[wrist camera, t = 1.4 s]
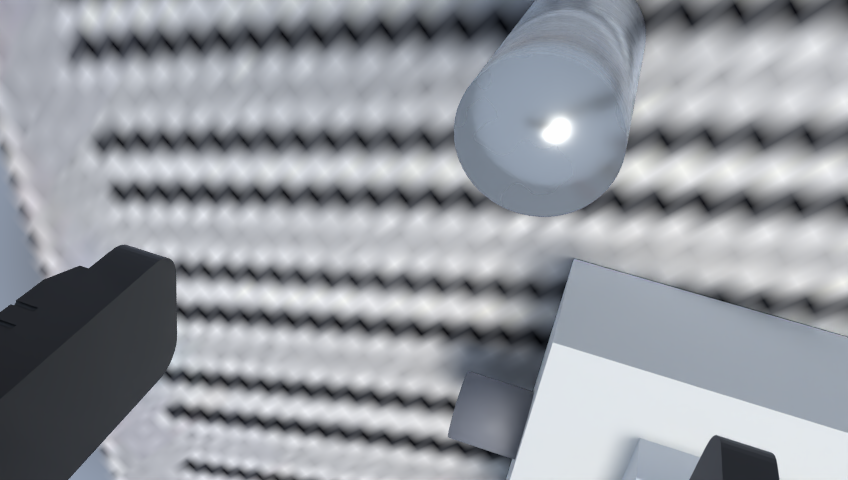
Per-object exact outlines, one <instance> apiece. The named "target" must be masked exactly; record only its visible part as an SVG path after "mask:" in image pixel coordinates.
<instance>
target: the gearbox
mask: <svg viewBox="0 0 848 480" xmlns="http://www.w3.org/2000/svg"><path fill="white" fill-rule="evenodd" d="M714 435H718V436H721V437H725V438H728V439H731V440H734V441H737V442H740V443H743V444H746V445H750V446H753V447H756V448H759V449H762V450H765V451H768V452H771V453H773V454H774V455H775V457H776V460H777V465H778V473H779V480H848V337H845V336H842V335H838V334H835V333H831V332H828V331H824V330H821V329H817V328H814V327H810V326H807V325H803V324H800V323H796V322H793V321H789V320H786V319H783V318H779V317H776V316H772V315H769V314H765V313H762V312H758V311H755V310H751V309H748V308H744V307H741V306H737V305H734V304H730V303H727V302H723V301H720V300H716V299H713V298H709V297H706V296H702V295H699V294H695V293H692V292H688V291H685V290H682V289H678V288H675V287H671V286H668V285H664V284H661V283H657V282H654V281H650V280H647V279H643V278H640V277H636V276H633V275H629V274H626V273H622V272H619V271H615V270H612V269H608V268H605V267H601V266H598V265H594V264H591V263H587V262H584V261H581V260H577V259H574V260H573V263H572V267H571V270H570V273H569V276H568V280H567V283H566V286H565V289H564V293H563V296H562V299H561V302H560V306H559V309H558V312H557V315H556V319H555V322H554V325H553V328H552V331H551V335H550V338H549V341H548V344H547V348H546V351H545V354H544V357H543V361H542V364H541V367H540V370H539V374H538V377H537V380H536V383H535V387H534V390H533V391H529V390H526V389H523V388H520V387H517V386H514V385H511V384H508V383H504V382H501V381H498V380H495V379H492V378H489V377H486V376H482V375H479V374H476V373H473V372H470V371H468V372H467V374H466V376H465V379H464V382H463V384H462V387H461V390H460V393H459V396H458V399H457V403H456V406H455V409H454V413H453V416H452V420H451V424H450V428H449V433H448V437H449V438H452V439H455V440H458V441H461V442H464V443H467V444H470V445H473V446H476V447H479V448H482V449H485V450H487V451H490V452H493V453H496V454H499V455H502V456H505V457H508V458H511V459H512V461H511V465H510V468H509V471H508V474H507V478H506V480H689V479H690V477H691V475H692V473H693V471H694V469H695V467H696V465H697V463H698V461H699V459H700V457H701V455H702V453H703V451H704V449H705V447H706V445H707V444H708V442H709V440H710V439H711V438H712V437H713V436H714Z"/></svg>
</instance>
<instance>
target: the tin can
mask: <svg viewBox="0 0 848 480" xmlns="http://www.w3.org/2000/svg"><path fill="white" fill-rule="evenodd" d="M645 43H646V26H645V20H644V17H643V14H642V11H641V9H640V7H639V5H638V4H637V2H636V1H635V0H535V1H534V3H533V4H532V5H531V6H530V8H529V9H528V10H527V12H526V13H525V14H524V16H523V17H522V18H521V19H520V21H519V22H518V23H517V25H516V26H515V27H514V29H513V30H512V31H511V33H510V34H509V35H508V36H507V38H506V39H505V40H504V42H503V43H502V44H501V46H500V47H499V48H498V49H497V51H496V52H495V53H494V55H493V56H492V57H491V59H490V60H489V61H488V63H487V64H486V65H485V66H484V68H483V69H482V70H481V72H480V73H479V74H478V76H477V77H476V78H475V79H474V81H473V82H472V83H471V85H470V86H469V87H468V89H467V90H466V92H465V94H464V95H463V97H462V99H461V101H460V104H459V106H458V109H457V113H456V117H455V124H454V141H455V147H456V151H457V155H458V158H459V161H460V163H461V165H462V168H463V169H464V171H465V173H466V175H467V176H468V178H469V179H470V180H471V182H472V183H473V184H474V185H475V186H476V188H477V189H478V190H479V191H480V192H481V193H483V194H484V195H485V196H486V197H488V198H489V199H490V200H492V201H493V202H495V203H496V204H498V205H500V206H502V207H504V208H506V209H508V210H511V211H514V212H516V213H520V214H524V215H529V216H538V217H551V216H558V215H564V214H567V213H571V212H574V211H576V210H579V209H581V208H583V207H585V206H587V205H589V204H591V203H592V202H593V201H595V200H596V199H597V198H599V197H600V196H601V195H602V194H603V193H604V192H605V191H606V190H607V189H608V188H609V187H610V185H611V184H612V183H613V181H614V180H615V178H616V176H617V175H618V173H619V171H620V168H621V166H622V163H623V160H624V156H625V152H626V147H627V141H628V136H629V130H630V125H631V119H632V114H633V109H634V103H635V98H636V92H637V87H638V81H639V76H640V71H641V65H642V60H643V54H644V49H645Z"/></svg>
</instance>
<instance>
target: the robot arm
mask: <svg viewBox="0 0 848 480" xmlns="http://www.w3.org/2000/svg"><path fill="white" fill-rule="evenodd" d="M176 342H177V308H176V269H175V265H174V263H173V261H172V260H171V259H169V258H166V257H163V256H159V255H156V254H153V253H150V252H147V251H144V250H141V249H138V248H134V247H131V246H128V245H120V246H118V247H116V248H114V249H113V250H112V251H110V252H109V253H108V254H106V255H105V256H104V257H103V258H101V259H100V260H99V261H98V262H96V263H95V264H94V265H92V266H91V267H90V268H89V269H88V268H85V267H82V266H78V267H75V268H73V269H70V270H68V271H65V272H62V273H60V274H57V275H55V276H52V277H50V278H47V279H44V280H43V281H41V282H40V283H39V284H37V285H36V286H35V287H33V288H32V289H31V290H29V291H28V292H27V293H25V294H24V295H23V296H21V297H20V298H19V299H17V300H16V303H15V305H9V306H8V307H7V308H5V309H4V310H3V311H1V312H0V480H68V479H69V478H70V477H71V476H72V475H73V474H74V473H75V472H76V470H77V469H78V468H79V467H80V466H81V465H82V464H83V463H84V462H85V461H86V460H87V458H88V457H89V456H90V455H91V454H92V453H93V452H94V451H95V450H96V449H97V447H98V446H99V445H100V444H101V443H102V442H103V441H104V440H105V439H106V438H107V436H108V435H109V434H110V433H111V432H112V431H113V430H114V429H115V428H116V427H117V425H118V424H119V423H120V422H121V421H122V420H123V419H124V418H125V417H126V416H127V414H128V413H129V412H130V411H131V410H132V409H133V408H134V407H135V406H136V405H137V403H138V402H139V401H140V400H141V399H142V398H143V397H144V396H145V395H146V394H147V392H148V391H149V390H150V389H151V388H152V387H153V386H154V385H155V384H156V383H157V381H158V380H159V379H160V378H161V377H162V376H163V374H164V373H165V371H166V370H167V368H168V366H169V364H170V362H171V360H172V357H173V354H174V351H175V347H176ZM689 480H779V473H778V465H777V460H776V457H775V455H774V454H773V453H771V452H768V451H765V450H762V449H759V448H756V447H753V446H750V445H746V444H743V443H740V442H737V441H734V440H731V439H728V438H725V437H721V436H718V435H714V436H713V437H712V438H711V439H710V440H709V442H708V444H707V445H706V447H705V449H704V451H703V453H702V455H701V457H700V459H699V461H698V463H697V465H696V467H695V469H694V471H693V473H692V475H691V477H690V479H689Z"/></svg>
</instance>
